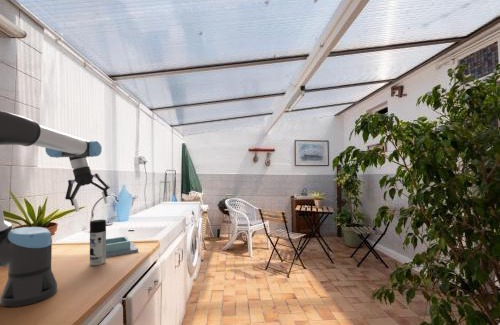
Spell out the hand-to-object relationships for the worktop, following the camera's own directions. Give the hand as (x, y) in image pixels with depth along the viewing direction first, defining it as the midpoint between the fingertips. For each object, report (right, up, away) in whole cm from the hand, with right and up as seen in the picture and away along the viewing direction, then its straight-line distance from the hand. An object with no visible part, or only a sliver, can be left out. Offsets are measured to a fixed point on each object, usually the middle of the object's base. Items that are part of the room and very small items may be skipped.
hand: (92, 207), depth 136 cm
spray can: (+10, -25, -12) cm, 29 cm away
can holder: (+8, -25, +7) cm, 27 cm away
